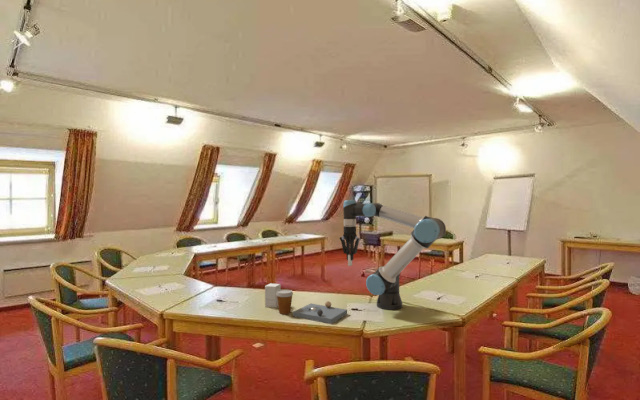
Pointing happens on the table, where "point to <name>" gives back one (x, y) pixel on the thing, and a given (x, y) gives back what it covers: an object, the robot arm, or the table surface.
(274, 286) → the supplement box
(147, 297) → the table surface
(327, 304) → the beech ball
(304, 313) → the board
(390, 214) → the robot arm
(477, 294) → the table surface
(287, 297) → the disposable coffee cup
